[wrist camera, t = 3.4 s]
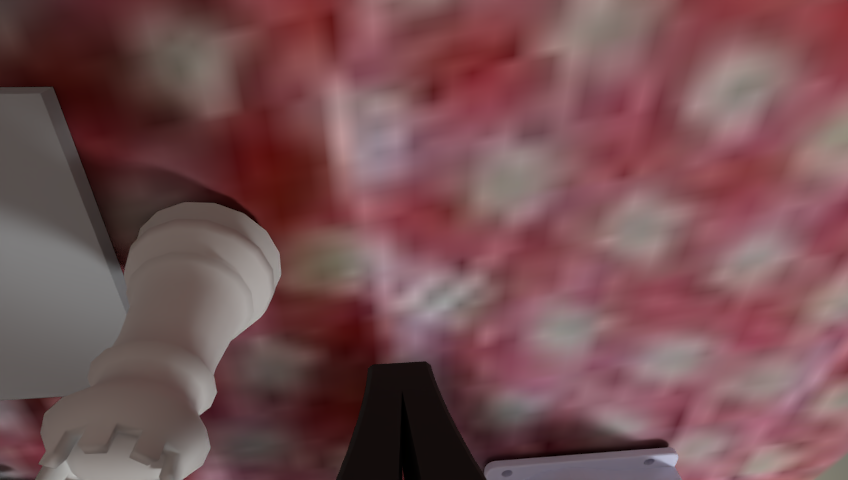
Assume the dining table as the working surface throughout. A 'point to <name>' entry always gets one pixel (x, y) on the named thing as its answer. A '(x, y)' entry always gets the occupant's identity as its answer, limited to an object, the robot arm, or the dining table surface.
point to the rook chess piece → (164, 349)
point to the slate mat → (50, 255)
